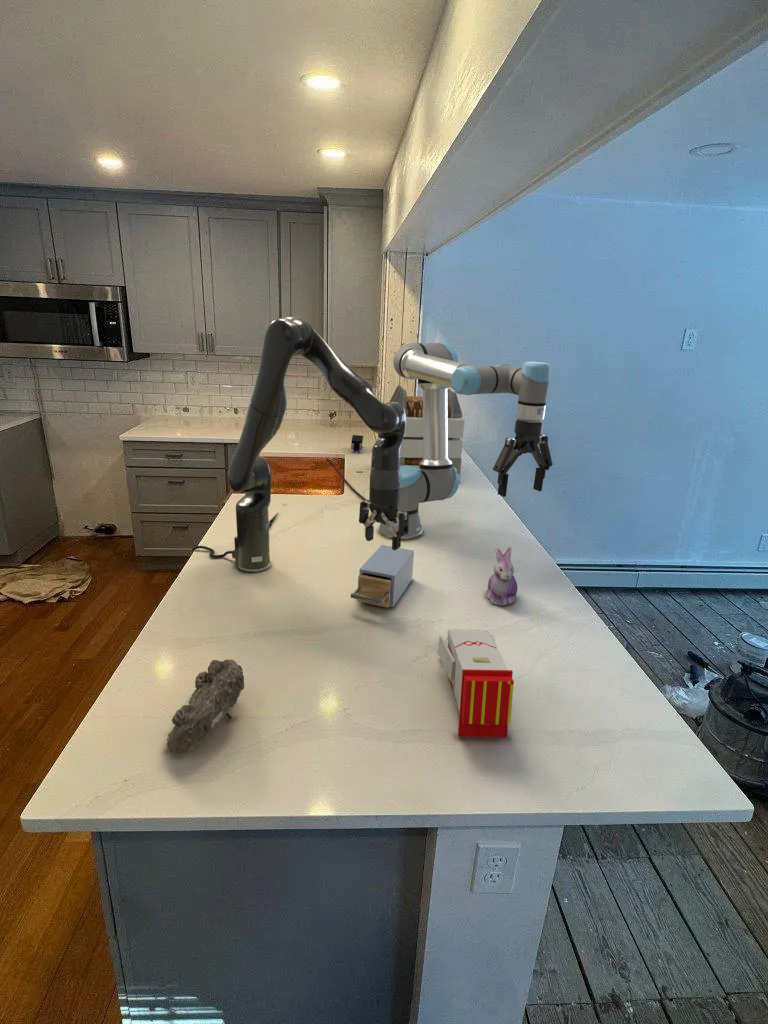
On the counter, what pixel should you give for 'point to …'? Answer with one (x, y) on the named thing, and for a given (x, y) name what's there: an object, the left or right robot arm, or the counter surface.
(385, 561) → the cabinet
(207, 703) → the fossil
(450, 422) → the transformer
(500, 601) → the figurine
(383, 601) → the drawer
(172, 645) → the counter surface
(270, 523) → the feather
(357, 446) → the figurine character
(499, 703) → the toy
